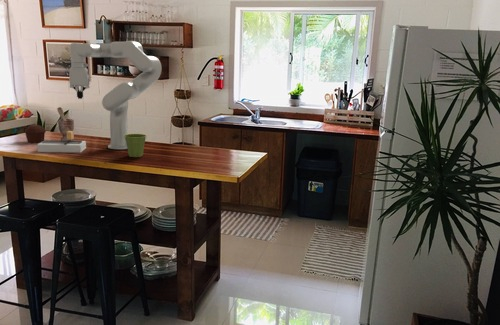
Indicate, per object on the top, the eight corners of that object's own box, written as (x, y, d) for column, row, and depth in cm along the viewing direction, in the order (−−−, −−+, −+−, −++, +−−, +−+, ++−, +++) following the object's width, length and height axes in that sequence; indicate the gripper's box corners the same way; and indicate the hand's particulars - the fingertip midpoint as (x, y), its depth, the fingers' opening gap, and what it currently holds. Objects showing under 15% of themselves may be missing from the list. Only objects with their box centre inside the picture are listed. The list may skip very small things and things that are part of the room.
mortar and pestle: (52, 141, 255) (49, 108, 250) (62, 138, 263) (60, 106, 258) (67, 143, 252) (65, 109, 247) (77, 140, 260) (76, 108, 255)
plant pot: (151, 155, 229) (151, 135, 226) (135, 159, 219) (135, 138, 216) (135, 152, 235) (135, 132, 232) (119, 156, 225) (118, 135, 222)
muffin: (20, 142, 246) (19, 125, 244) (33, 139, 257) (32, 123, 254) (38, 144, 244) (37, 127, 242) (51, 141, 255) (49, 124, 252)
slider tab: (73, 141, 235) (73, 131, 234) (71, 143, 231) (71, 132, 230) (69, 141, 235) (68, 130, 234) (67, 143, 231) (66, 132, 229)
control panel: (86, 147, 241) (85, 139, 240) (80, 152, 229) (80, 143, 228) (45, 147, 238) (44, 138, 237) (37, 151, 226) (37, 143, 225)
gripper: (93, 66, 242) (95, 98, 246) (66, 65, 240) (68, 97, 244) (90, 66, 235) (92, 99, 239) (62, 65, 233) (64, 98, 237)
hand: (80, 98), depth 242 cm, fingers closed
